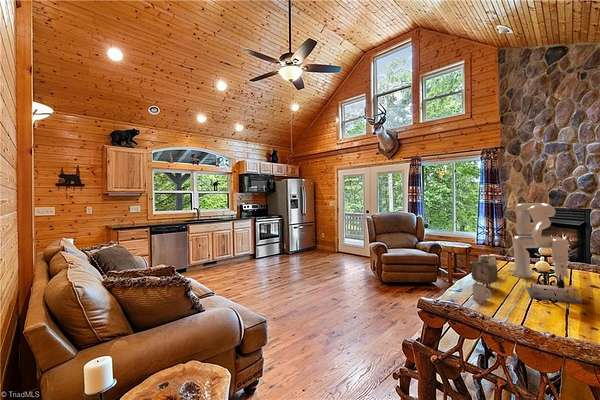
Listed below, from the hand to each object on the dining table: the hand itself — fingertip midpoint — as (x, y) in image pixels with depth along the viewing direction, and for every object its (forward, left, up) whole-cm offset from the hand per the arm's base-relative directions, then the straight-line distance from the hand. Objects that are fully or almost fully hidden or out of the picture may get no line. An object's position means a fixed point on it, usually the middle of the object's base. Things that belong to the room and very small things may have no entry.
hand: (560, 287), depth 180 cm
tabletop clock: (-40, +5, -7) cm, 41 cm away
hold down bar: (-3, 0, -2) cm, 4 cm away
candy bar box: (-38, +36, -7) cm, 53 cm away
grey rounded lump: (-42, -24, -7) cm, 49 cm away
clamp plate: (-4, 0, -7) cm, 8 cm away
